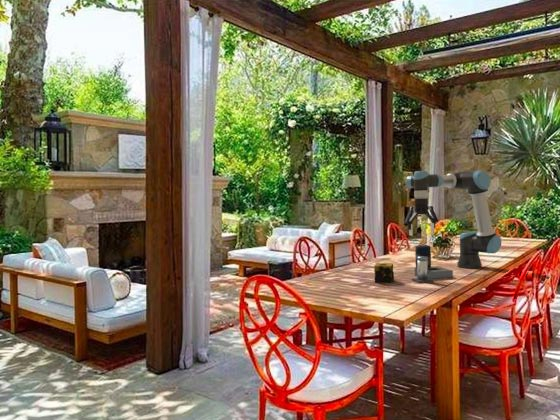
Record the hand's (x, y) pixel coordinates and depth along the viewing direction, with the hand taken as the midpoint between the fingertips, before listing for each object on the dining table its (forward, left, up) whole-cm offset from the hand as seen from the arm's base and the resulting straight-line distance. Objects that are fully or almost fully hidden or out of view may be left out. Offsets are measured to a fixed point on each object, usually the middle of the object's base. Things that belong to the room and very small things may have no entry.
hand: (421, 235), depth 275 cm
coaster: (0, 0, -27) cm, 27 cm away
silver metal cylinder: (0, 0, -26) cm, 26 cm away
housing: (-13, -10, -27) cm, 31 cm away
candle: (+20, -8, -27) cm, 35 cm away
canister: (-15, -25, -27) cm, 40 cm away
